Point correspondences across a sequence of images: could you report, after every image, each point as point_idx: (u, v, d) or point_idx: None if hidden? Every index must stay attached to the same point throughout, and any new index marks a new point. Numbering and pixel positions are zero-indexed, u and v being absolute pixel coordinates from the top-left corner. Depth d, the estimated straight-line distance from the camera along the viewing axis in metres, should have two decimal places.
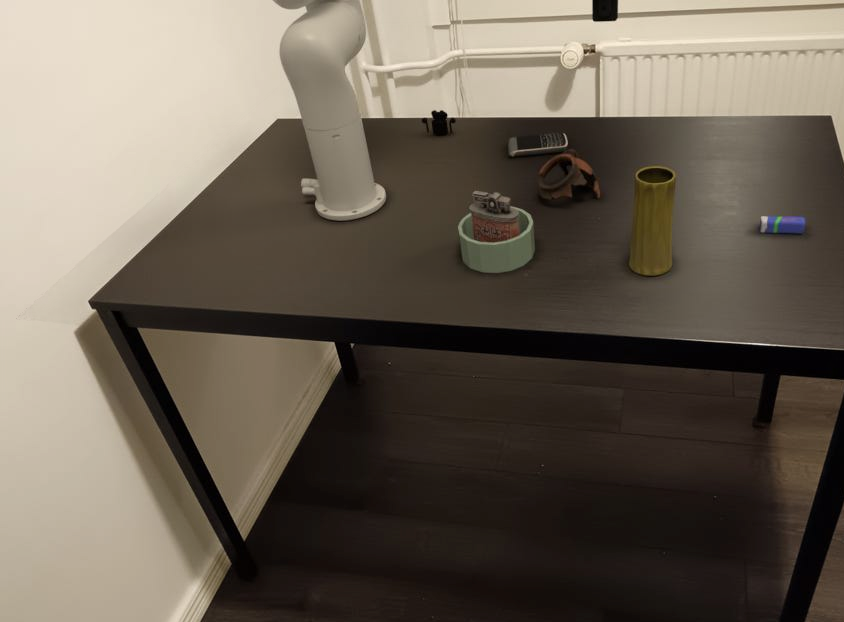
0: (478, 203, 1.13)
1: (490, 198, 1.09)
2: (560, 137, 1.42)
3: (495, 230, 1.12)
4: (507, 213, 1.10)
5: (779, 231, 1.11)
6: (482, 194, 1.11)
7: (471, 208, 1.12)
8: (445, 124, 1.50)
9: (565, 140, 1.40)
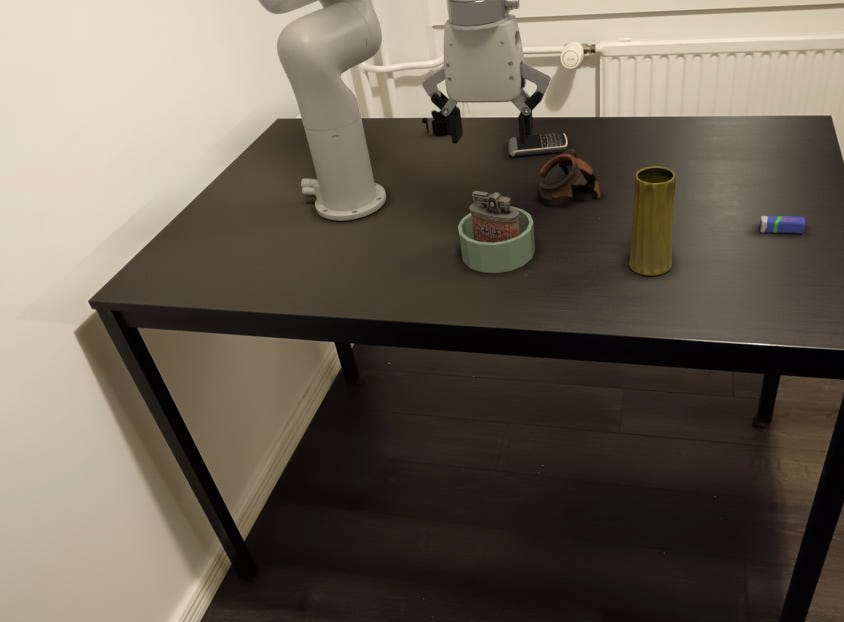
0: (478, 203, 1.13)
1: (490, 198, 1.09)
2: (560, 137, 1.42)
3: (495, 230, 1.12)
4: (507, 213, 1.10)
5: (779, 231, 1.11)
6: (482, 194, 1.11)
7: (471, 208, 1.12)
8: (445, 124, 1.50)
9: (565, 140, 1.40)
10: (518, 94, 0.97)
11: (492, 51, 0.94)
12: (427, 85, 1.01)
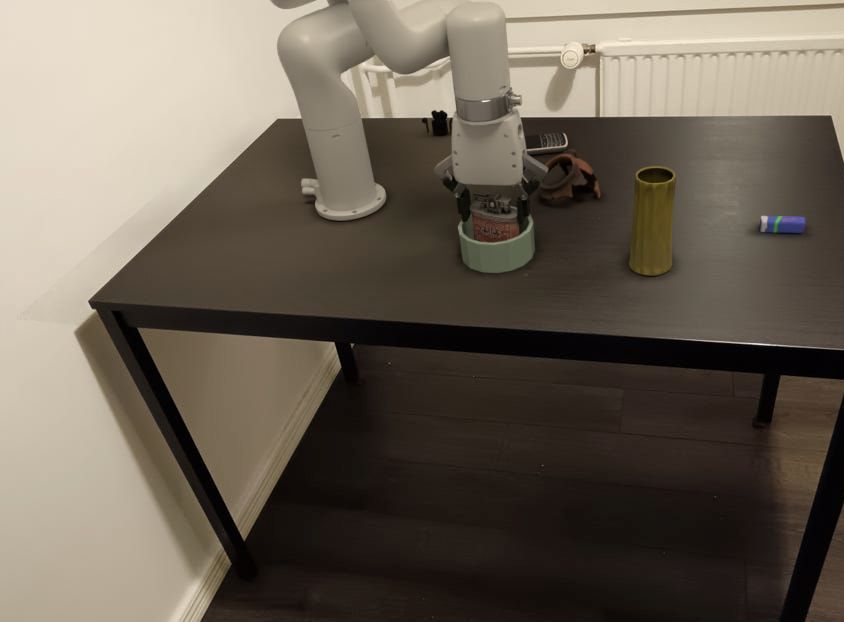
0: (478, 203, 1.13)
1: (490, 198, 1.09)
2: (560, 137, 1.42)
3: (495, 230, 1.12)
4: (507, 213, 1.10)
5: (779, 230, 1.11)
6: (482, 194, 1.11)
7: (471, 208, 1.12)
8: (445, 124, 1.50)
9: (565, 140, 1.40)
10: (520, 179, 1.05)
11: (496, 143, 1.02)
12: (438, 171, 1.09)
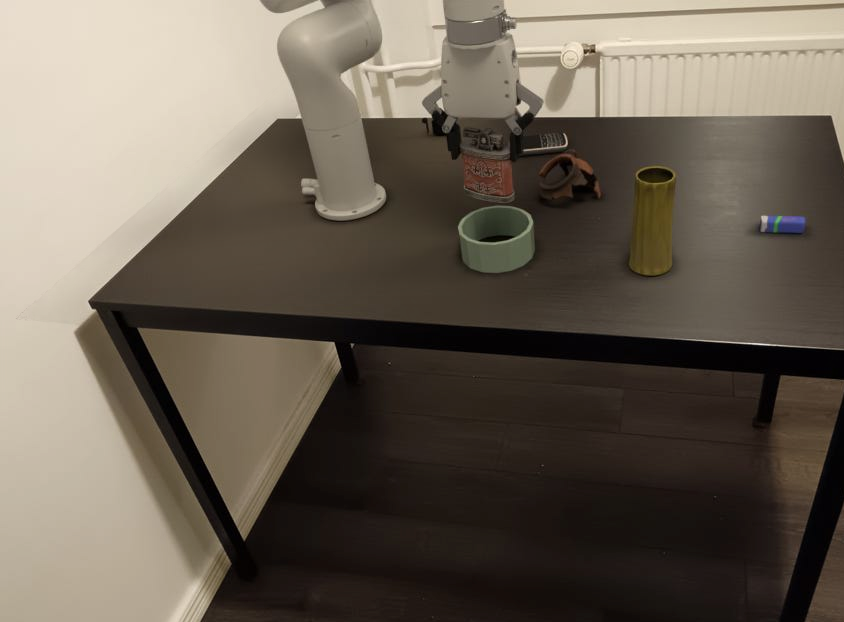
0: (469, 140, 1.07)
1: (482, 133, 1.03)
2: (560, 137, 1.42)
3: (486, 168, 1.06)
4: (499, 150, 1.04)
5: (779, 230, 1.11)
6: (473, 129, 1.04)
7: (461, 145, 1.06)
8: None
9: (565, 140, 1.40)
10: (513, 112, 0.99)
11: (489, 70, 0.96)
12: (426, 103, 1.03)
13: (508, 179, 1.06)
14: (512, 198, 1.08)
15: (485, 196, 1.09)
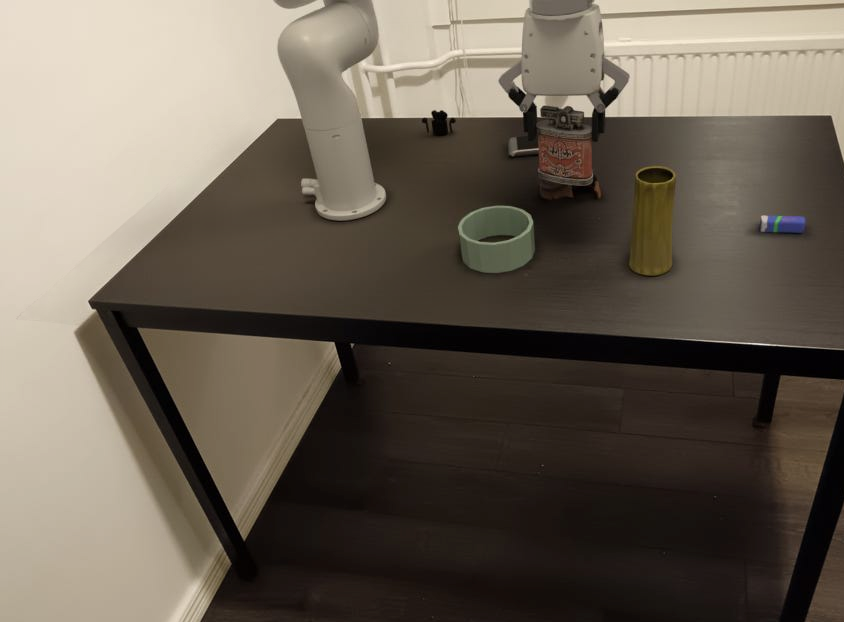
0: (545, 121, 1.02)
1: (561, 112, 0.98)
2: None
3: (565, 149, 1.01)
4: (580, 129, 0.99)
5: (779, 230, 1.11)
6: (552, 108, 0.99)
7: (538, 125, 1.01)
8: (445, 124, 1.50)
9: None
10: (598, 87, 0.94)
11: (574, 42, 0.90)
12: (503, 81, 0.98)
13: (588, 160, 1.01)
14: (591, 181, 1.03)
15: (562, 179, 1.03)
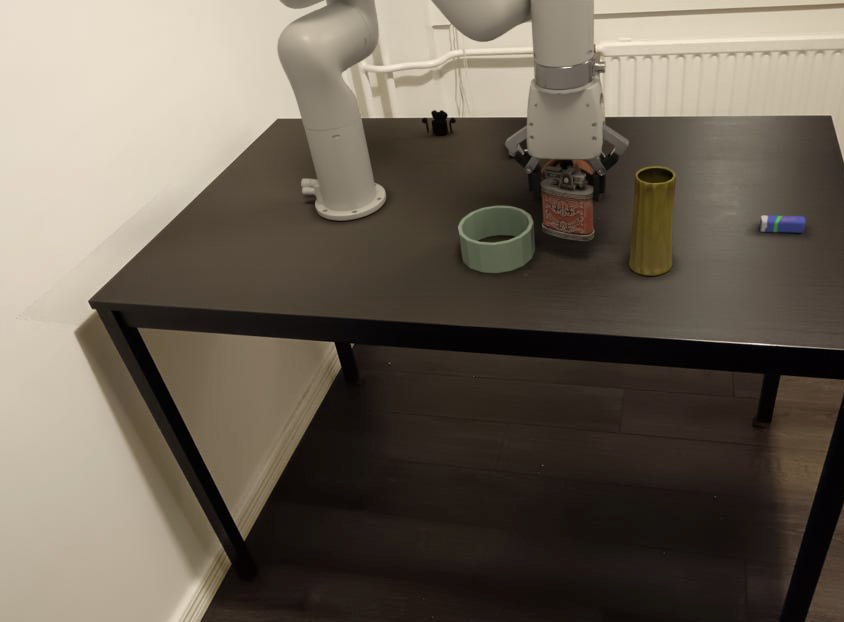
0: (549, 180, 1.08)
1: (564, 173, 1.04)
2: None
3: (568, 207, 1.06)
4: (582, 189, 1.04)
5: (779, 230, 1.11)
6: (555, 169, 1.05)
7: (542, 185, 1.07)
8: (445, 124, 1.50)
9: None
10: (599, 153, 1.00)
11: (577, 113, 0.96)
12: (509, 145, 1.03)
13: (590, 217, 1.06)
14: (592, 236, 1.08)
15: (565, 234, 1.09)
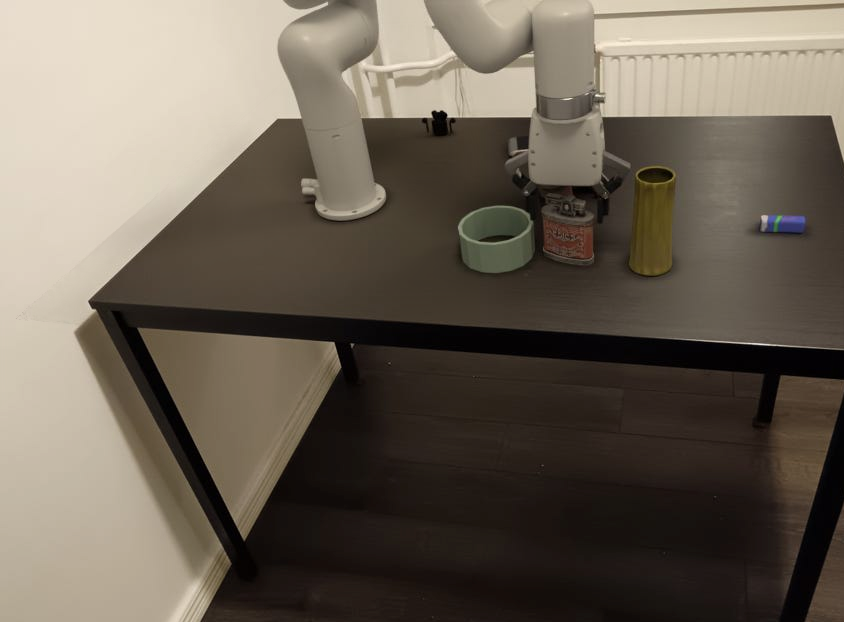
0: (550, 206, 1.10)
1: (565, 201, 1.06)
2: None
3: (568, 233, 1.09)
4: (582, 216, 1.07)
5: (779, 230, 1.11)
6: (556, 196, 1.08)
7: (543, 211, 1.09)
8: (445, 124, 1.50)
9: None
10: (599, 180, 1.02)
11: (577, 141, 0.99)
12: (509, 167, 1.06)
13: (590, 243, 1.09)
14: (592, 260, 1.11)
15: (565, 259, 1.12)
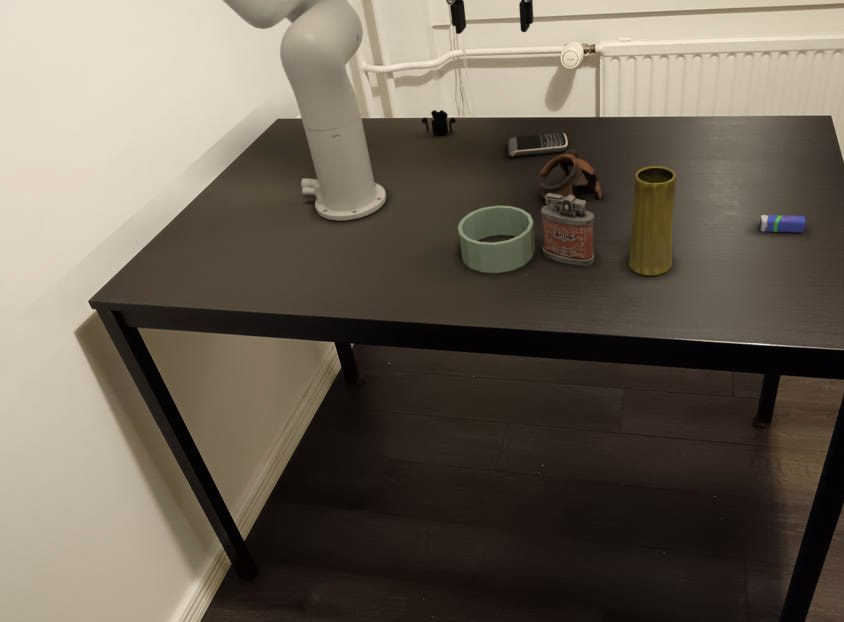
0: (550, 206, 1.10)
1: (565, 201, 1.06)
2: (560, 137, 1.42)
3: (568, 233, 1.09)
4: (582, 216, 1.07)
5: (779, 230, 1.11)
6: (556, 196, 1.08)
7: (543, 211, 1.09)
8: (445, 124, 1.50)
9: (565, 140, 1.40)
10: None
11: None
12: None
13: (590, 243, 1.09)
14: (592, 260, 1.11)
15: (565, 259, 1.12)
